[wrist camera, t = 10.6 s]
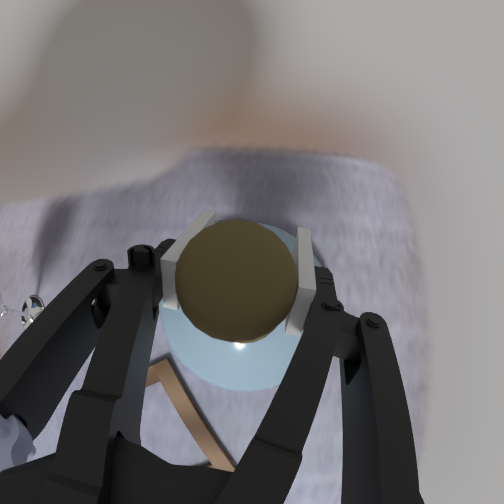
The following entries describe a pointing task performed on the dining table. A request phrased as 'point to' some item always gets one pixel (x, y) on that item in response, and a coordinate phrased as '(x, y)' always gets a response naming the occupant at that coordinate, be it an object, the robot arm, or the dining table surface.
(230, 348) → the saucer
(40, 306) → the wineglass
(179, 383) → the walnut frame
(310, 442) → the dining table surface
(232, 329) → the cork
